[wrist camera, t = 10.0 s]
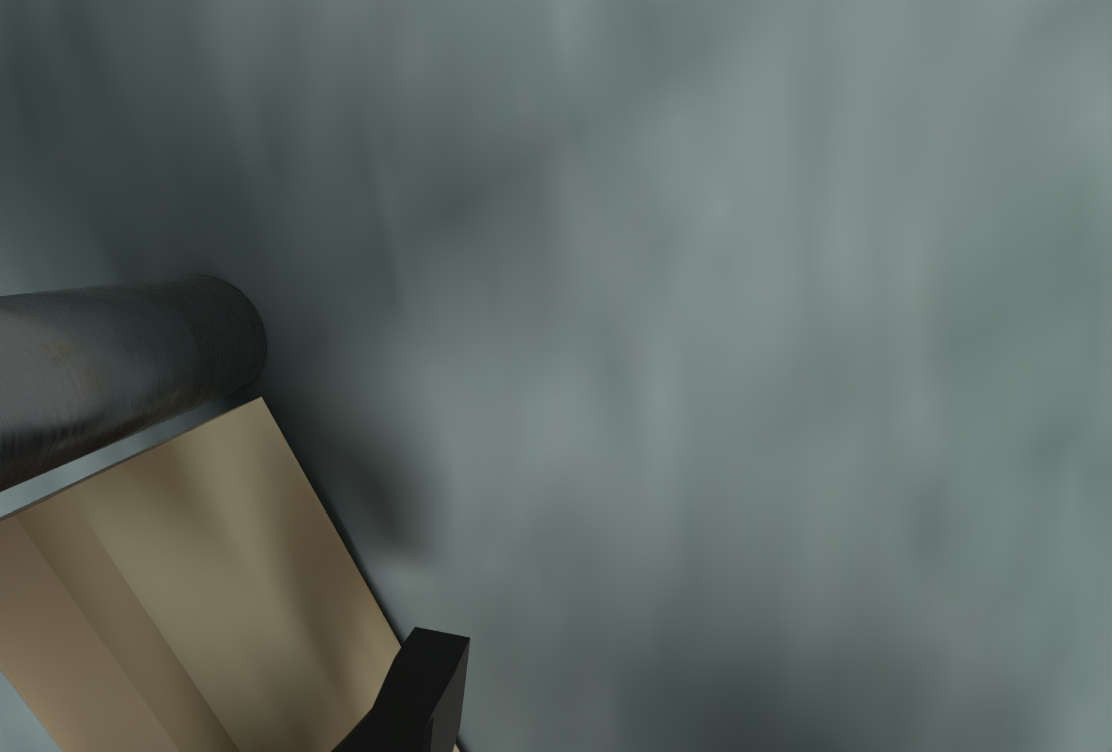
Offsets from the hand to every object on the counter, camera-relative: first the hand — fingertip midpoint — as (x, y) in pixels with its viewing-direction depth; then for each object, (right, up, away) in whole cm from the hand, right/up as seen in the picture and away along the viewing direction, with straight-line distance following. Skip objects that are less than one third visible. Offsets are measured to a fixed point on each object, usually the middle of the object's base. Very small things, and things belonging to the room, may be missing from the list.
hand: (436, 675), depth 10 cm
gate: (-2, 0, +2) cm, 3 cm away
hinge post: (-5, +6, +1) cm, 8 cm away
